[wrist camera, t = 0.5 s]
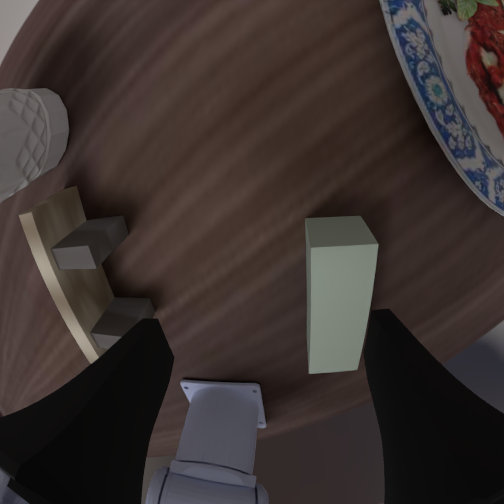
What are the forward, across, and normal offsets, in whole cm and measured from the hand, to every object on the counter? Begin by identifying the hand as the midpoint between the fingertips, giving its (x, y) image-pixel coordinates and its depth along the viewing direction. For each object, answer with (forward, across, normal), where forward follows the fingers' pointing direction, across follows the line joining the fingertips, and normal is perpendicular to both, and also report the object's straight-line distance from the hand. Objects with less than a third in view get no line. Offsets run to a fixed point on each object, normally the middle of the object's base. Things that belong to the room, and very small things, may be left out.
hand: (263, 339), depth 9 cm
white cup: (+10, +16, -10) cm, 21 cm away
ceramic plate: (+10, -20, -13) cm, 26 cm away
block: (+10, -4, +5) cm, 11 cm away
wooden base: (+10, +12, +2) cm, 16 cm away
